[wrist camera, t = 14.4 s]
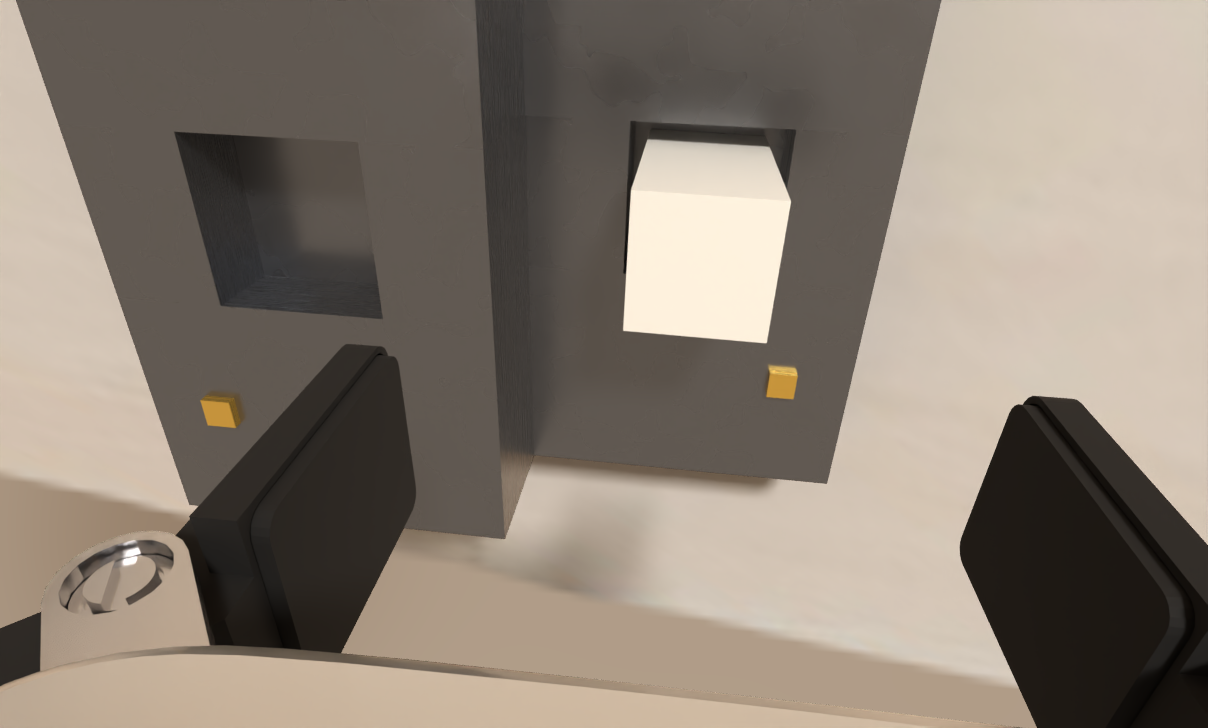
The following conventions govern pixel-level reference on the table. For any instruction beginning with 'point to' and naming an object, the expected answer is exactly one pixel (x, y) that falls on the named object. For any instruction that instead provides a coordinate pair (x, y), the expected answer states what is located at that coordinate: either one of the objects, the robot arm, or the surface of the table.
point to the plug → (705, 236)
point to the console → (476, 217)
